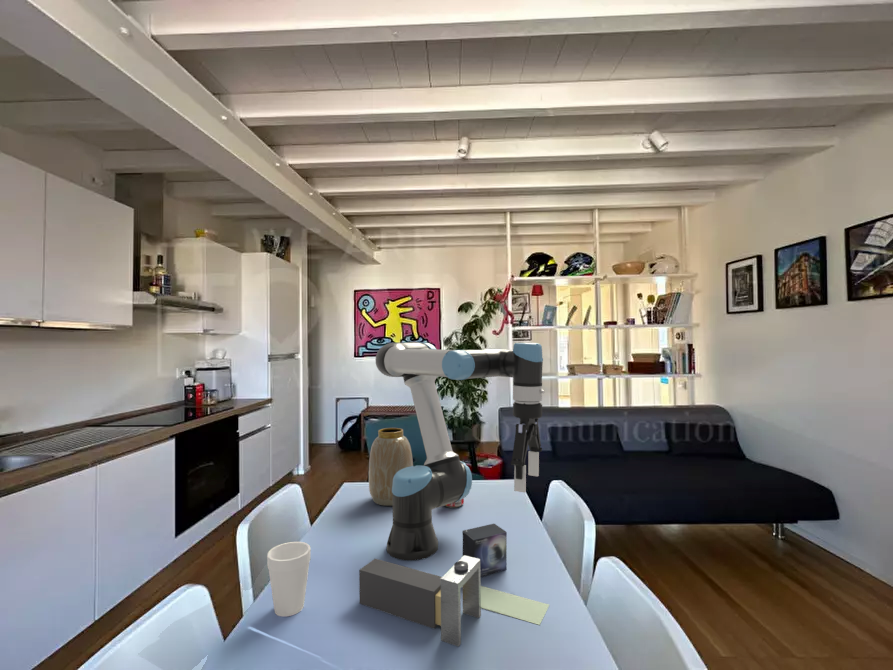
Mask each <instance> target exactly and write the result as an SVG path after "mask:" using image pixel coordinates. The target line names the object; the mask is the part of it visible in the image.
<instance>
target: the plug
mask: <svg viewBox="0 0 893 670" xmlns="http://www.w3.org/2000/svg"><path fill="white" fill-rule="evenodd" d="M358 570H359V579H358V580H359V581H358V583H359V584H358V585H359V586H358V587H359V588H358V589H359V605H363V606H365V607H368V608H371V609H373V610H377V611H379V612H383V613H386V614H388V615H391V616H394V617H396V618H397V617H398V618H400V619H403V620H406V621H410V622H412V623H414V624H415V623H416V624H418V625H422V626H425V627H428V628H430V629H436V628H437V626H440V627H441V578H442V577H443V576H440V575H437V574H433V573H430V572H426V571H423V570H420V569H415V568H412V567H407V566H405V565H404V566H403V565H400V564H396V563H392V562H389V561H386V560H382V559H378V558H374V559H372V560H371V561H370V562H368V563H367V564H365V565H364V566H363V567H361V568H360V569H358Z"/></svg>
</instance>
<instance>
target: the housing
mask: <svg viewBox="0 0 893 670" xmlns="http://www.w3.org/2000/svg"><path fill="white" fill-rule="evenodd" d="M441 577H442V578H441V626H440V641H441V642H444V643H446V644H449V645H452V646H456V647H458V648H459V647H460V646H461V645H462V623H461V622H462V615H461V614H465V615H467V616H471V617H473V618H477V619H480V618H481V616H482V608H481V586H482V582H481V578H482V577H481V574H480V559H477V558H473V557H469V556H465V555H464V556H463V557H460V559H459V560H458V561H457V562H454V564H453V566H451V568H449V570H448V571H447V572H446V573H444V574H443V575H442V576H441ZM461 589H462V590H461ZM461 591H462V592H461ZM461 593H462V594H461ZM461 595H462V600H461ZM461 601H462V603H461ZM461 604H462V607H461ZM461 609H462V613H461Z"/></svg>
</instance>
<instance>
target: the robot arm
mask: <svg viewBox="0 0 893 670" xmlns="http://www.w3.org/2000/svg"><path fill="white" fill-rule="evenodd" d="M543 362H544V358H543V346H542V344H541V343H538V342H515V343H513V346H512V349H503V348H499V349H498V348H487V349H437V348H436V347H435V346H434V345H433V344H431V343H429V342H423V341H415V342H410V341H409V342H389V343H387V344H384V345H383V346H381V347H380V348H379V349H378V351H377V353H376V355H375V366H376V368H377V370H378V371H379V372H380V373H381V374H383V375H384V376H386V377H389V378H390V377H391V378H400V377H401V378H402V379H403V383H404V385H405V386H407V387H408V388H409V390H410V393H411V397H412V401H413V405H414V409H415V410H414V411H415V413H416V417H417V422H418V427H419V430H420V435H421V438H422V443H423V447H424V450H425V451H424V452H425V455H426V460H425V461H424V463H423V465H422V464H421V465H418V464H416V465H413V466H410V467H406V468H403V469H401V470H399V471H398V472H397V473H396V474H395V475H394V477H393V485H392V496H393V506H392V524H391V528H390V532H389V535H388V539H387V542H386V552H387V554H388V555H389V556H390V557H392V558H394V559H396V560H399V561H400V560H401V561H408V562H409V561H421V560H423V559H424V560H425V559H428V558H430V557H432V556H433V555H435V554H436V553H437V552H438V550H439V541H438V537H437V534H436V531H435V528H434V524H433V510H434V509H436V508H441V507H444V506H445V505H447V504H450V503H454V502H458V501H459V500H461V499H463V498H464V499H465V498H467V497H468V496H469V494H470V491H471V489H472V485H473V476H472V471H471V469H470V467H469V466H468V465H467V464H466V463H465V462H464V461H461V460H460V456H459V454H458V453H456V452H454V451H453V447H452V444H451V440H450V437H449V432H448V427H447V424H446V419H445V417H444V413H443V410H442V409H443V408H442V405H441V400H440V398H439V394H438V390H437V386H436V383H435V382H436V379H437V378H438V377H443V378H448V379H450V380H456V381H463V380H469V379H481V378H482V379H485V378H495V377H503V378H512V383H513V385H512V400H513V401H514V402H513V403H512V405H513V406H512V415H513V417H515V418H516V419H517V418H518V419H519V423H516V424H515V433H514V434H515V435H514V441H513V450H512V456H511V461H510V465H511V466H513V467H514V471H513V472H514V473H513V475H514V477H513V481H514V482H513V484H514V486H513V487H514V488H513V489H514V492H519V493H526V491H527V488H526V487H527V483H526V482H527V478H526V477H527V476H526V475H527V474H528V476H531V477H532V476H533V477H539V476H540V475H539V474H540V467H539V466H540V465H539V464H540V459H539V458H540V457H539V456H540V453H541V452H542V451H543V448H542V447H541V446H542V444H541V437H540V429H539V419H540V418H542V416H543V404H542V402H541V401H543V394H544V393H545V390H544V389H543V367H544V366H543ZM528 448H529V451H528ZM527 456H528V459H527V460H528V468H527V465H526V458H527ZM527 469H528V473H527Z"/></svg>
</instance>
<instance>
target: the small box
mask: <svg viewBox="0 0 893 670" xmlns="http://www.w3.org/2000/svg"><path fill="white" fill-rule="evenodd" d="M507 536H508V535H507V531H506V530H505V529H503V528H502V527H500V526H499V525H497V524H496V523H490V524H486V525H481V526H477V527H474V528H472V527H471V528H469V529H464V530H462V555H461V556H462V557H463V556H464V555H465V556H469V557H473V558H477V559H480V574H481V578H483V577H487V576H490V575H494V574H497V573H500V572H505V571H506V570H507V562H508V561H507V554H508V553H507V549H508V548H507V543H508V542H507ZM462 557H461V558H462Z"/></svg>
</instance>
